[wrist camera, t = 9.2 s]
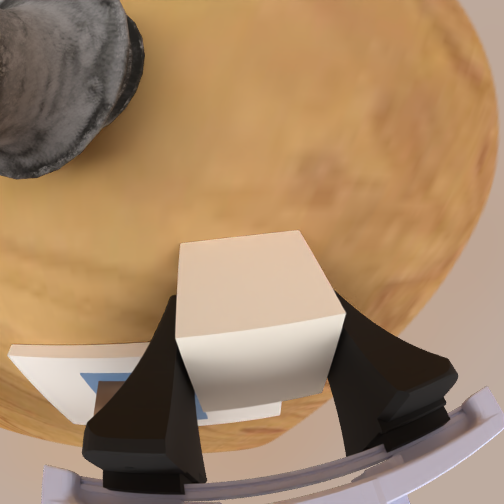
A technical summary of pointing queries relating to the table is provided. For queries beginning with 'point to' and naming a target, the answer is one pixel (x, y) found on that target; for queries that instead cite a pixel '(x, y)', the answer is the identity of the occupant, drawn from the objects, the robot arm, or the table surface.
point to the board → (100, 379)
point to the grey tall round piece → (62, 79)
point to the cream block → (255, 320)
